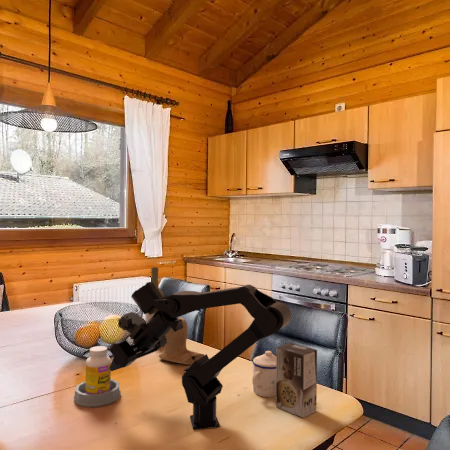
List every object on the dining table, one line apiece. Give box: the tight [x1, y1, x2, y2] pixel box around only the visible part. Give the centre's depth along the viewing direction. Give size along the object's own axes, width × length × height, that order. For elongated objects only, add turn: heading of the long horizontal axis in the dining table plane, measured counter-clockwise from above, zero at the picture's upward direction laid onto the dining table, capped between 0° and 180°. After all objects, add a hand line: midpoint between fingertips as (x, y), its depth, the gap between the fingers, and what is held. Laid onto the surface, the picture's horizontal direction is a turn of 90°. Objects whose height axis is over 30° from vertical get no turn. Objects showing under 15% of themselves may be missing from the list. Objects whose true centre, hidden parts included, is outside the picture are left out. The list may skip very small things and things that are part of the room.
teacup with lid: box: [251, 350, 276, 398], centre depth 121 cm, size 12×9×12 cm
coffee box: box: [275, 342, 318, 418], centre depth 111 cm, size 9×6×16 cm
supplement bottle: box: [85, 345, 112, 394], centre depth 117 cm, size 7×7×13 cm
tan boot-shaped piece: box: [158, 316, 205, 366], centre depth 147 cm, size 15×12×15 cm
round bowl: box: [73, 378, 122, 408], centre depth 117 cm, size 12×12×3 cm
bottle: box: [145, 266, 165, 322], centre depth 167 cm, size 7×7×30 cm
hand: (121, 363), depth 113 cm, fingers open, 9 cm apart
